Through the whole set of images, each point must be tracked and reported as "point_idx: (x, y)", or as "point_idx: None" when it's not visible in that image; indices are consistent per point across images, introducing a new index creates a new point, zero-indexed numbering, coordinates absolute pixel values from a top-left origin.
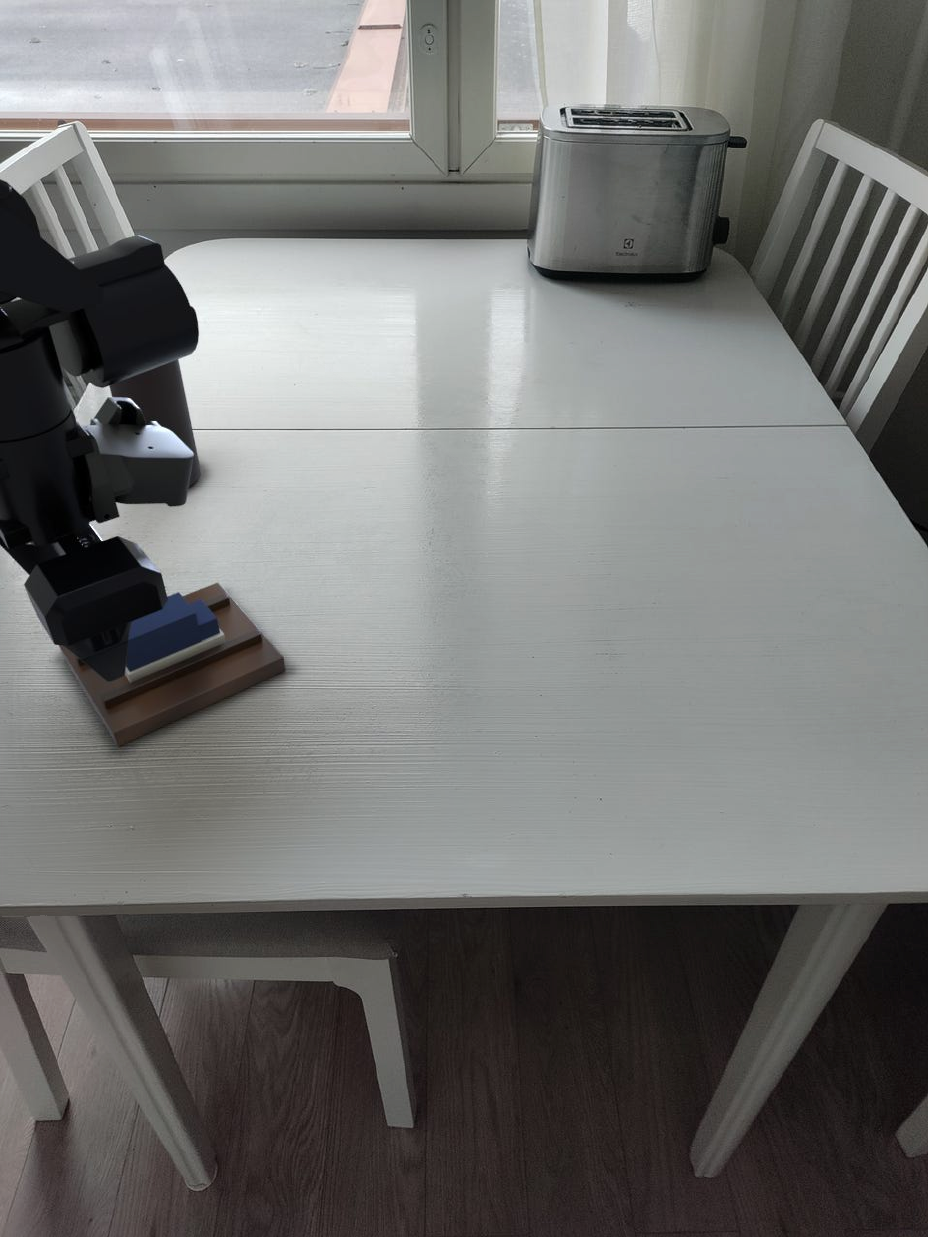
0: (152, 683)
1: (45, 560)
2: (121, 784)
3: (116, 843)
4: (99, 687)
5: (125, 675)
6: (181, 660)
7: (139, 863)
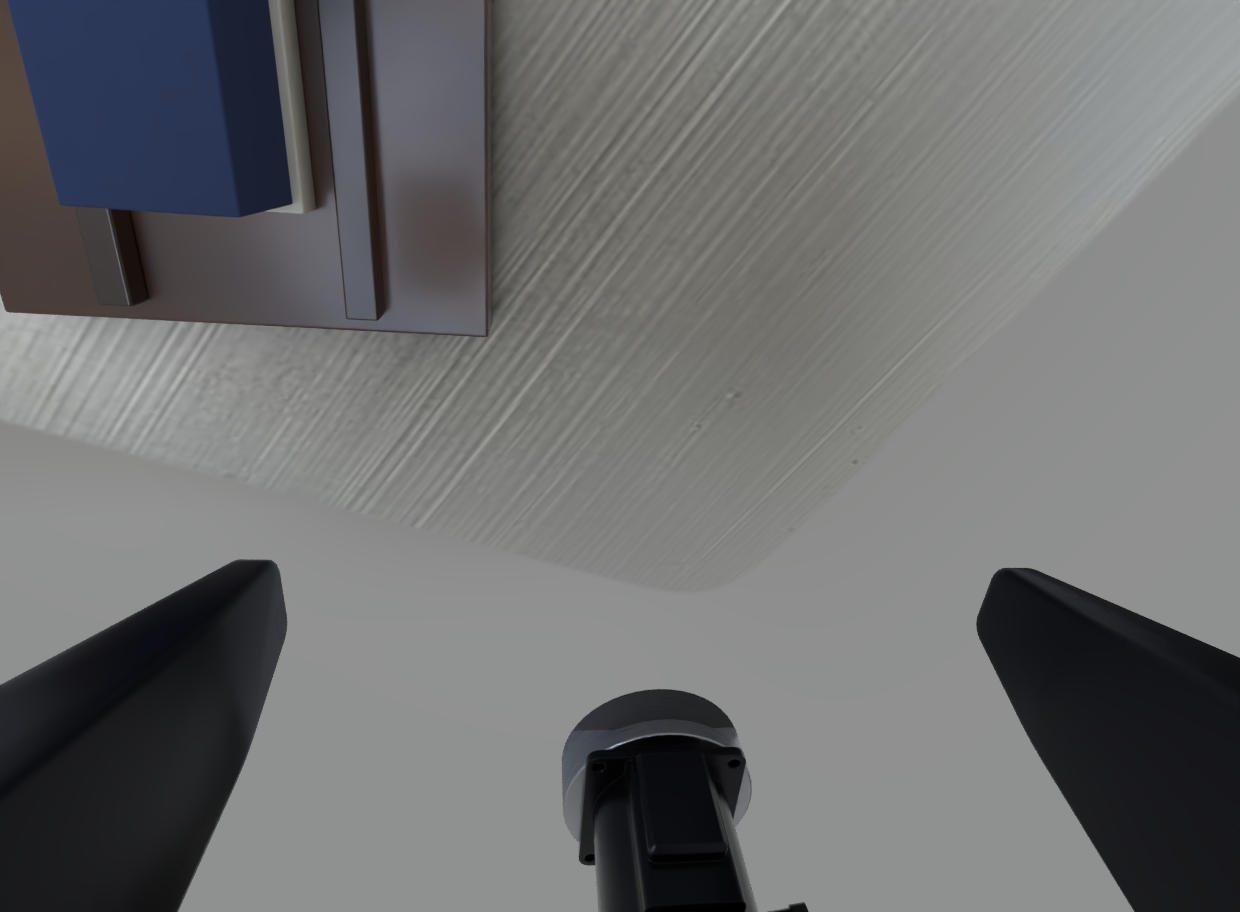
0: (369, 162)
1: (88, 902)
2: (607, 365)
3: (744, 435)
4: (281, 293)
5: None
6: (291, 8)
7: (819, 420)
